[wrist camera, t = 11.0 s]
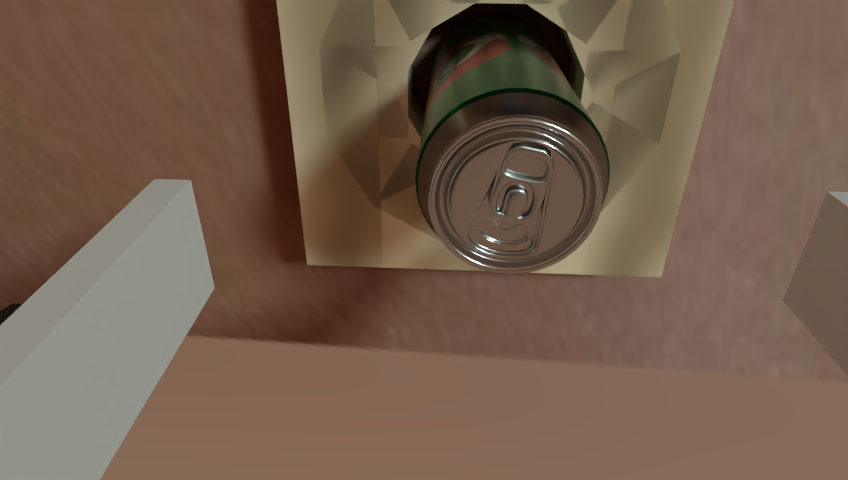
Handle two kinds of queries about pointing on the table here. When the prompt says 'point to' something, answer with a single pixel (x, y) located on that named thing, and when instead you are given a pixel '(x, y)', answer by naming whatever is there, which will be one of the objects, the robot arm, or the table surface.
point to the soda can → (507, 152)
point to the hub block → (403, 117)
